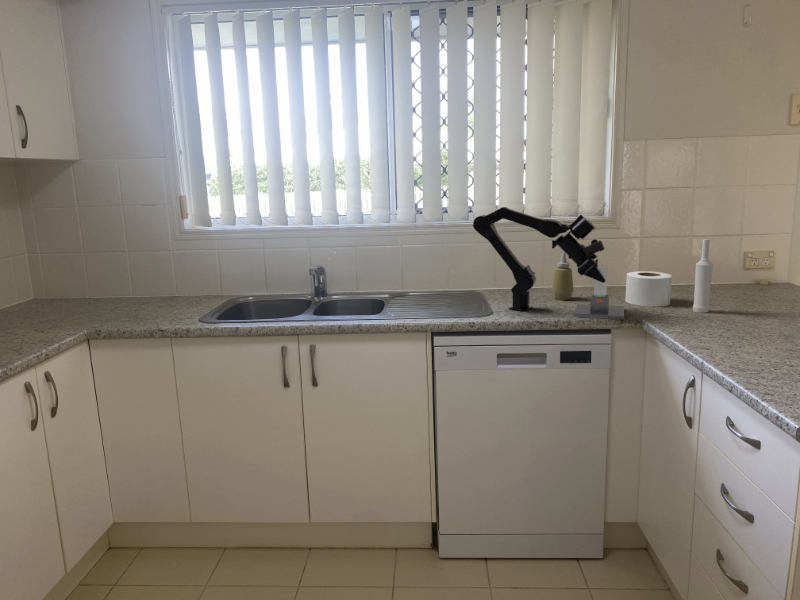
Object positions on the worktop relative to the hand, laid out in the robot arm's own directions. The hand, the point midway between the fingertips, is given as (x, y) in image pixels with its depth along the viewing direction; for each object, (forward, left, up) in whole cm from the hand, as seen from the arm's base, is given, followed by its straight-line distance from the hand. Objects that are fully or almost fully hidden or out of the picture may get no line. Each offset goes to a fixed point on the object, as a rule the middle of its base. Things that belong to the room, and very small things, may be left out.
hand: (604, 280), depth 200 cm
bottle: (+22, -25, -12) cm, 35 cm away
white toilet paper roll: (+26, -5, -12) cm, 29 cm away
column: (-1, +1, -6) cm, 6 cm away
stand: (-1, +1, -11) cm, 12 cm away
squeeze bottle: (+13, +23, -12) cm, 29 cm away
